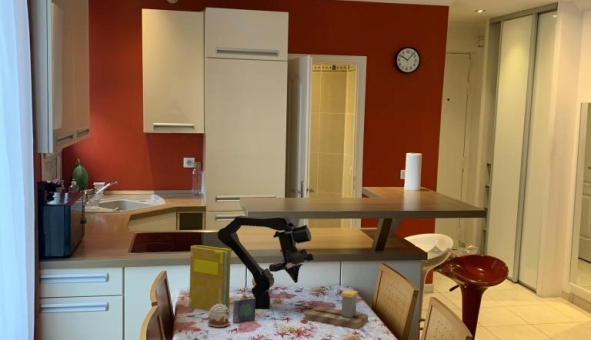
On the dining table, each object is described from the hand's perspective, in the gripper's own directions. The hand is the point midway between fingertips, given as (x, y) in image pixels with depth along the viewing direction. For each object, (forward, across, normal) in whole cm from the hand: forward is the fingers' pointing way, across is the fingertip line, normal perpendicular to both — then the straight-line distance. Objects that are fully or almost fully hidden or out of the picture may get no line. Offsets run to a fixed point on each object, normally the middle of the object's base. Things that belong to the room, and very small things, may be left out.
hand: (296, 282), depth 239 cm
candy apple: (+5, -37, -3) cm, 38 cm away
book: (+2, -33, +18) cm, 38 cm away
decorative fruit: (+6, -2, +32) cm, 33 cm away
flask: (+7, -27, -3) cm, 28 cm away
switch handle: (+17, +9, -19) cm, 27 cm away
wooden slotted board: (+16, +6, -15) cm, 23 cm away
